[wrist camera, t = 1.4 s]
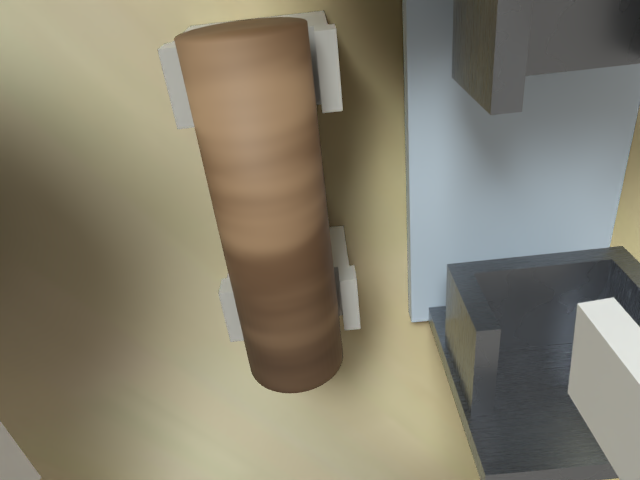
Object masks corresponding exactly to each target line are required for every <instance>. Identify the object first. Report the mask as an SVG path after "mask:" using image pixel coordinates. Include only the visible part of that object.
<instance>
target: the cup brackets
mask: <svg viewBox="0 0 640 480" xmlns="http://www.w3.org/2000/svg"><path fill="white" fill-rule="evenodd" d="M639 63H640V0H454V3H453V43H452V78H453V79H454V80H455V81H456V82H457V83H458V84H459V85H460V86H461V87H462V88H463V89H464V90H465V91H466V92H467V93H468V94H469V95H470V96H471V97H472V98H473V99H474V100H475V101H476V102H477V103H478V104H479V105H480V106H482V107H483V108H484V109H485V110H486V111H487V112H488V113H489V114H490V115H497V114H506V113H516V112H522V107H523V96H524V86H525V76H532V75H540V74H549V73H558V72H567V71H576V70H585V69H594V68H603V67H612V66H621V65H630V64H639ZM613 297H614V298H615V299H616V301H617V302H618V303H619V304H620V305H621V306H622V307H623V309H624V310H625V311H626V312H627V313H628V314H629V315H630V317H631V318H632V319H633V320H634V321H635V322H636V323H637V324H638V326H639V327H640V263H639V262H638V261H637V260H636V259H635V258H634V257H633V256H632V255H631V254H630V253H629V252H628V251H627V250H626V249H625V248H624V247H623V246H618V247H608V248H599V249H589V250H579V251H570V252H560V253H550V254H540V255H531V256H521V257H511V258H502V259H492V260H482V261H472V262H463V263H453V264H447V279H446V306H438V307H429V314H428V321H429V324H430V327H431V330H432V333H433V336H434V339H435V342H436V345H437V348H438V351H439V354H440V357H441V360H442V364H443V367H444V370H445V373H446V376H447V379H448V382H449V385H450V388H451V391H452V394H453V397H454V400H455V403H456V406H457V409H458V412H459V415H460V418H461V422H462V425H463V428H464V431H465V434H466V437H467V440H468V443H469V446H470V449H471V452H472V455H473V458H474V461H475V464H476V467H477V470H478V473H479V476H480V479H481V480H604V479H614V478H619V477H618V476H617V474H616V472H615V471H614V469H613V467H612V466H611V464H610V462H609V461H608V459H607V457H606V456H605V454H604V452H603V451H602V449H601V447H600V446H599V444H598V442H597V441H596V439H595V437H594V436H593V434H592V432H591V431H590V429H589V427H588V426H587V424H586V422H585V421H584V419H583V417H582V416H581V414H580V412H579V411H578V409H577V407H576V406H575V404H574V402H573V401H572V399H571V397H570V396H569V394H568V385H569V376H570V367H571V357H572V348H573V339H574V330H575V321H576V312H577V303H583V302H589V301H595V300H601V299H607V298H613Z"/></svg>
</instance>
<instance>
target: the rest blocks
mask: <svg viewBox="0 0 640 480" xmlns="http://www.w3.org/2000/svg"><path fill="white" fill-rule="evenodd" d="M273 17H295V18H302V19H305V20H307V23H308V33H309V42H310V51H311V61H312V70H313V79H314V89H315V98H316V105H320V104H321V105H322V113H328V112H337V111H343V105H342V93H341V81H340V69H339V56H338V44H337V32H336V27H335V24H328V23H327V20H326V16H325V13H324V11H316V12H308V13H299V14H290V15H282V16H273ZM264 18H270V17H264ZM256 19H257V18H256ZM238 21H239V20H238ZM230 22H232V21H230ZM221 23H226V22H221ZM215 24H220V23H213V24H204V25H195V26H190V27H189V28H188V29H186V30H185V31H184V32H187V31H190V30H193V29H197V28H201V27H205V26H210V25H215ZM184 32H183V33H184ZM158 53H159V57H160V61H161V65H162V69H163V73H164V77H165V81H166V85H167V89H168V93H169V97H170V101H171V105H172V109H173V113H174V117H175V121H176V125H177V129H183V128H192V127H194V123H193V118H192V114H191V110H190V105H189V101H188V97H187V92H186V88H185V84H184V79H183V75H182V71H181V67H180V62H179V58H178V54H177V49H176V45H175V41H173V42H171V43H165V44H163V45H162V46H161V47H160V48H159V49H158ZM329 229H330V238H331V247H332V257H333V266H334V275H335V285H336V294H337V303H338V313H339V315H343V321H344V330H353V329H361V327H360V314H359V302H358V290H357V278H356V272H355V266H354V265H350V266H349V261H348V254H347V247H346V240H345V233H344V226H336V227H329ZM219 297H220V301H221V305H222V309H223V313H224V317H225V321H226V325H227V329H228V333H229V337H230V341H231V342H234V341H244V338H243V334H242V329H241V325H240V321H239V317H238V312H237V308H236V304H235V299H234V295H233V291H232V286H231V282H230V278H229V273H228V275H227V278H225V279H222V280H221V285H220V289H219Z"/></svg>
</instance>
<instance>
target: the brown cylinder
mask: <svg viewBox="0 0 640 480" xmlns="http://www.w3.org/2000/svg"><path fill="white" fill-rule="evenodd" d="M174 41H175V45H176V49H177V54H178V58H179V62H180V67H181V71H182V75H183V79H184V84H185V88H186V92H187V97H188V101H189V105H190V110H191V114H192V118H193V123H194V127H195V131H196V135H197V140H198V144H199V148H200V153H201V157H202V161H203V166H204V170H205V174H206V179H207V183H208V187H209V192H210V196H211V200H212V204H213V209H214V213H215V217H216V222H217V226H218V230H219V235H220V239H221V243H222V248H223V252H224V256H225V260H226V265H227V269H228V273H229V278H230V282H231V286H232V291H233V295H234V299H235V304H236V308H237V312H238V317H239V321H240V325H241V329H242V334H243V338H244V342H245V347H246V351H247V355H248V360H249V364H250V368H251V372H252V375H253V376H254V378H255V379H256V380H257V382H258V383H260V384H261V385H262V386H264V387H265V388H267V389H270V390H272V391H276V392H281V393H299V392H305V391H309V390H312V389H314V388H317V387H319V386H321V385H323V384H324V383H326V382H327V381H328V380H330V379H331V378H332V377H333V376H334V375H335V374H336V373H337V371H338V370H339V368H340V366H341V363H342V359H343V350H342V341H341V331H340V322H339V313H338V303H337V294H336V285H335V275H334V266H333V257H332V247H331V238H330V229H329V219H328V210H327V201H326V191H325V182H324V173H323V163H322V154H321V145H320V135H319V126H318V117H317V107H316V98H315V89H314V79H313V70H312V61H311V51H310V42H309V33H308V23H307V20H305V19H302V18H295V17H270V18H257V19H247V20H239V21H232V22H226V23H220V24H215V25H210V26H205V27H201V28H197V29H193V30H190V31H187V32H184V33H181V34H179V35H177V36H176V37H175V38H174Z"/></svg>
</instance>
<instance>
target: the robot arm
mask: <svg viewBox="0 0 640 480" xmlns="http://www.w3.org/2000/svg"><path fill="white" fill-rule="evenodd" d="M568 394H569V396H570V397H571V399H572V401H573V402H574V404H575V406H576V407H577V409H578V411H579V412H580V414H581V416H582V417H583V419H584V421H585V422H586V424H587V426H588V427H589V429H590V431H591V432H592V434H593V436H594V437H595V439H596V441H597V442H598V444H599V446H600V447H601V449H602V451H603V452H604V454H605V456H606V457H607V459H608V461H609V462H610V464H611V466H612V467H613V469H614V471H615V472H616V474H617V476H618V477H619V479H620V480H640V327H639V326H638V324H637V323H636V322H635V321H634V320H633V319H632V318H631V317H630V315H629V314H628V313H627V312H626V311H625V310H624V309H623V307H622V306H621V305H620V304H619V303H618V302H617V301H616V299H615V298H614V297H613V298H607V299H601V300H595V301H589V302H583V303H577V312H576V321H575V330H574V339H573V348H572V357H571V367H570V376H569V385H568ZM40 479H41V476H40V475H39V473H38V472H37V471H36V469H35V468H34V466H33V465H32V464H31V462H30V461H29V460H28V458H27V457H26V455H25V454H24V453H23V451H22V450H21V449H20V447H19V446H18V445H17V443H16V442H15V440H14V439H13V438H12V436H11V435H10V434H9V432H8V431H7V430H6V428H5V427H4V425H3V424H2V423H1V421H0V480H40Z"/></svg>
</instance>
